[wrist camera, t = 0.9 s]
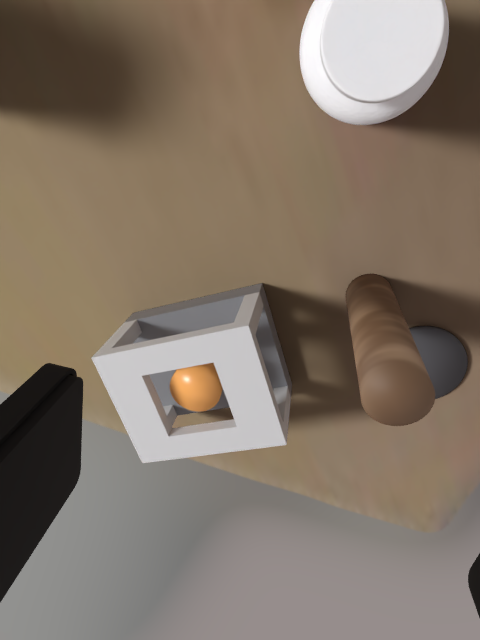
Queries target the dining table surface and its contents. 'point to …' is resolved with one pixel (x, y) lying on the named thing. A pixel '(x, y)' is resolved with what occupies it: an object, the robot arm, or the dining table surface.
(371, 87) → the supplement bottle
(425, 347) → the mat
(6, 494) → the robot arm
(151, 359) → the white hollow box
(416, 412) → the brown wooden rod
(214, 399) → the orange hemisphere
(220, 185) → the dining table surface
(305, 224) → the dining table surface
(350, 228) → the dining table surface
